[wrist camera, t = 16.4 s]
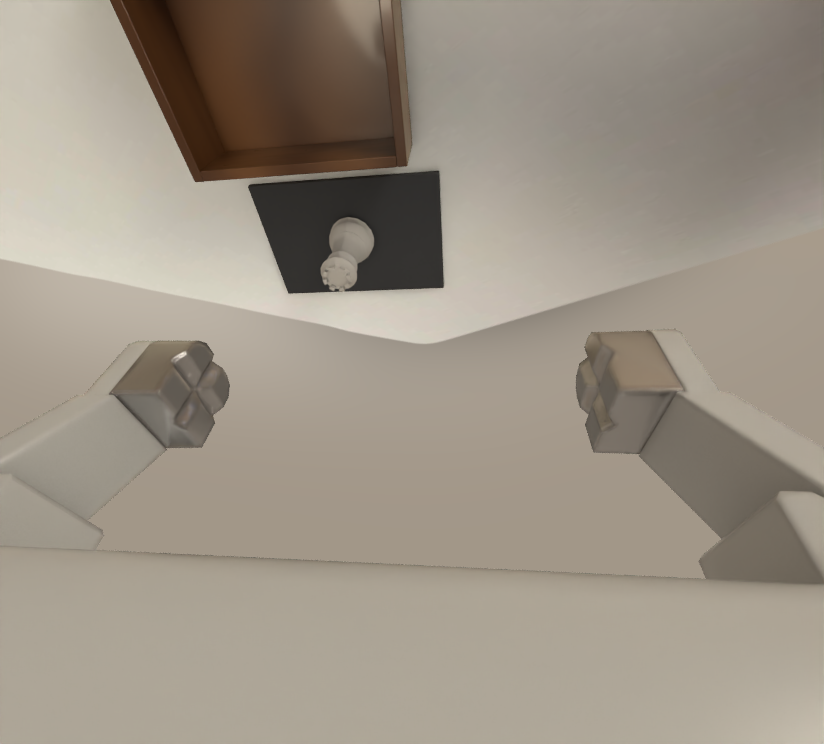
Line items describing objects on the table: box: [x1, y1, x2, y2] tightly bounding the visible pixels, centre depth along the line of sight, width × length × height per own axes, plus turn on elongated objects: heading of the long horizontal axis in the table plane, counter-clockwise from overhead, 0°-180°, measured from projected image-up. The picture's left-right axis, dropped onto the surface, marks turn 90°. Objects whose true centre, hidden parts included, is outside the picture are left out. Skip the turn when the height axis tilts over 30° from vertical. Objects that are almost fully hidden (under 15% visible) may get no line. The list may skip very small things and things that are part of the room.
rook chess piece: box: [321, 217, 374, 292], centre depth 36 cm, size 4×4×8 cm
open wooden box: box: [110, 0, 412, 182], centre depth 27 cm, size 18×15×5 cm
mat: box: [248, 171, 444, 293], centre depth 40 cm, size 18×12×1 cm, turn 95°
